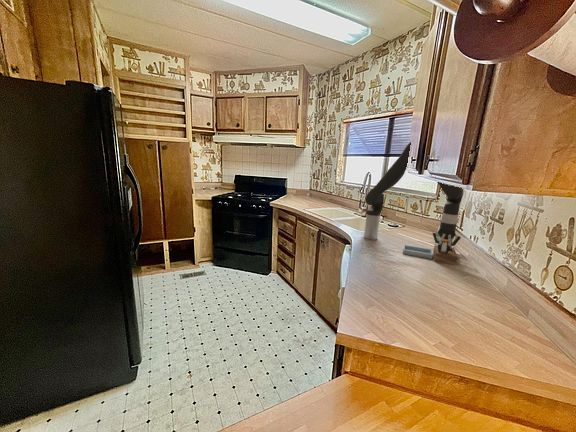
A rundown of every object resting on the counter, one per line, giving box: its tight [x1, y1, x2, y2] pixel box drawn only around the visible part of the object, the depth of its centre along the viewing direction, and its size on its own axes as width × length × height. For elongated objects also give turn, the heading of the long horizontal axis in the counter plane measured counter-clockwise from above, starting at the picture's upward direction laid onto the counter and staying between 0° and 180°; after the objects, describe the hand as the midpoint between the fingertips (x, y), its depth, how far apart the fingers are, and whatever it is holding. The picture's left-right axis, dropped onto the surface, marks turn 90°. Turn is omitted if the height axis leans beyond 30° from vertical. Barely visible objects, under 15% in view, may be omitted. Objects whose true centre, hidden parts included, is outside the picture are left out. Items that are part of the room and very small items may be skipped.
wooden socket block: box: [432, 244, 458, 266], centre depth 142 cm, size 16×10×5 cm, turn 153°
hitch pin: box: [440, 239, 448, 254], centre depth 139 cm, size 4×4×13 cm
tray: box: [402, 244, 434, 260], centre depth 149 cm, size 10×15×2 cm
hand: (443, 250), depth 139 cm, fingers closed on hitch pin, 3 cm apart
